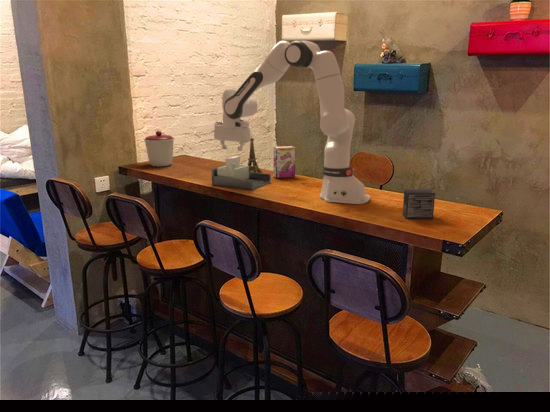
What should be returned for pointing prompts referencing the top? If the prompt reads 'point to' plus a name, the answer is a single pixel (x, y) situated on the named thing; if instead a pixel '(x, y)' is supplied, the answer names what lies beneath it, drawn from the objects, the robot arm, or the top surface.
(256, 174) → the bay
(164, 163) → the canister
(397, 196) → the top surface
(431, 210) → the small box
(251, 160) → the eiffel tower
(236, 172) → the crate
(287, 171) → the candy bar box
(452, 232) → the top surface
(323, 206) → the top surface
